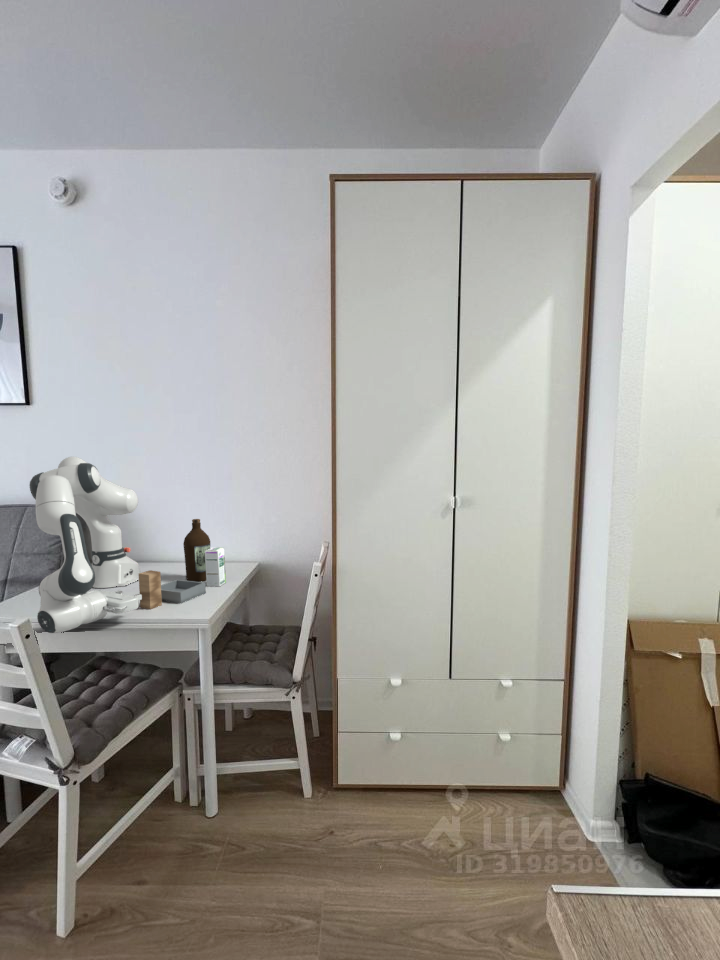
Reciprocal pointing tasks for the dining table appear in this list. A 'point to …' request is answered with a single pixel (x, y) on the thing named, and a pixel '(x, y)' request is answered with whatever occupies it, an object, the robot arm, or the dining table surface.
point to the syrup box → (215, 567)
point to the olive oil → (196, 552)
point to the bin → (181, 590)
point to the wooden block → (150, 589)
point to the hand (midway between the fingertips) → (130, 594)
